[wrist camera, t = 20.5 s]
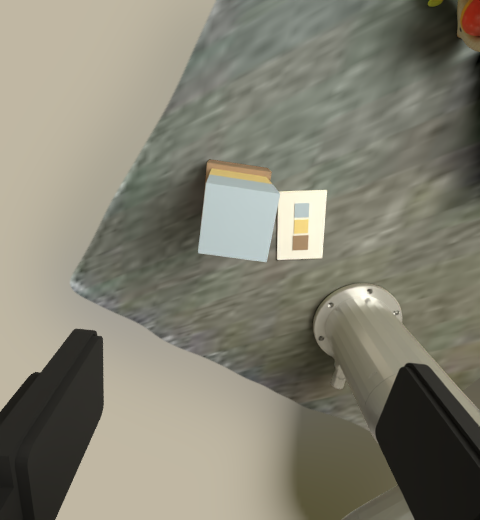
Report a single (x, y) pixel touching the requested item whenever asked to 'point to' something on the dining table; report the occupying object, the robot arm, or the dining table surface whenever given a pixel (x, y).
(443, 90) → the dining table surface
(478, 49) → the bird rattle
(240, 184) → the bluegrey brick
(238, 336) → the dining table surface
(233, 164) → the base brick
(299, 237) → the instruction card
